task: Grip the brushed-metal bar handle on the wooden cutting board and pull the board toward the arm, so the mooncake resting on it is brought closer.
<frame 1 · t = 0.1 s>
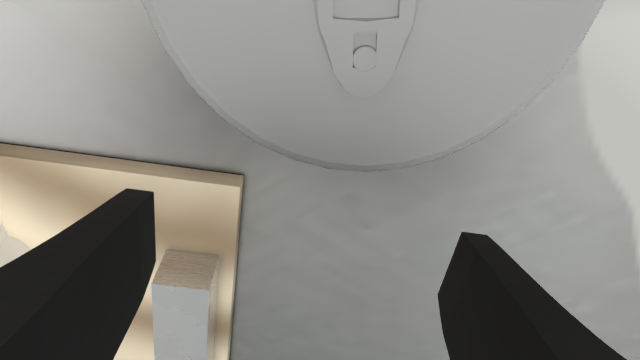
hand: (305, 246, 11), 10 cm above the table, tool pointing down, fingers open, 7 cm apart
wooden cutting board: (6, 300, 24), point 2 cm above the table, slide at 0.2 cm, touching mooncake
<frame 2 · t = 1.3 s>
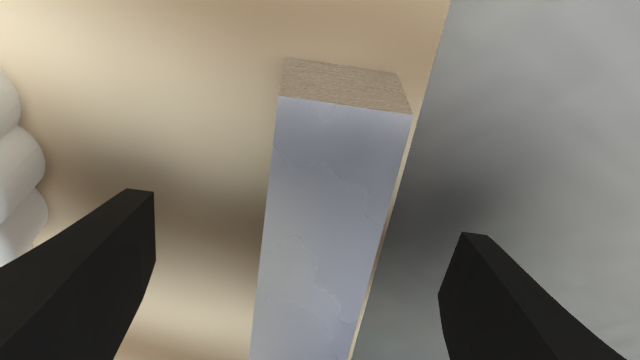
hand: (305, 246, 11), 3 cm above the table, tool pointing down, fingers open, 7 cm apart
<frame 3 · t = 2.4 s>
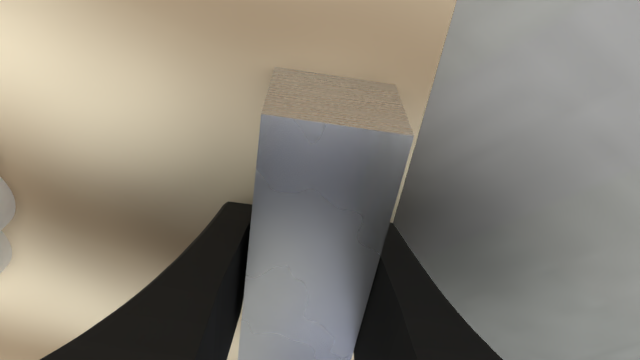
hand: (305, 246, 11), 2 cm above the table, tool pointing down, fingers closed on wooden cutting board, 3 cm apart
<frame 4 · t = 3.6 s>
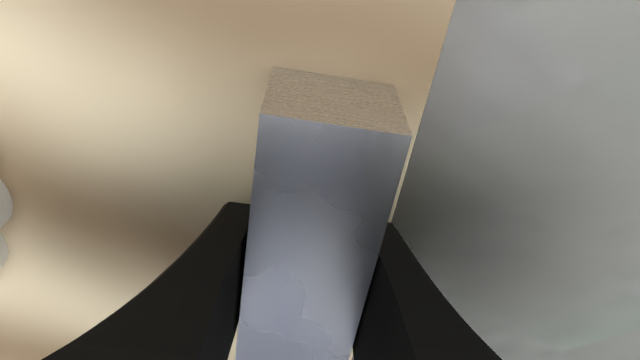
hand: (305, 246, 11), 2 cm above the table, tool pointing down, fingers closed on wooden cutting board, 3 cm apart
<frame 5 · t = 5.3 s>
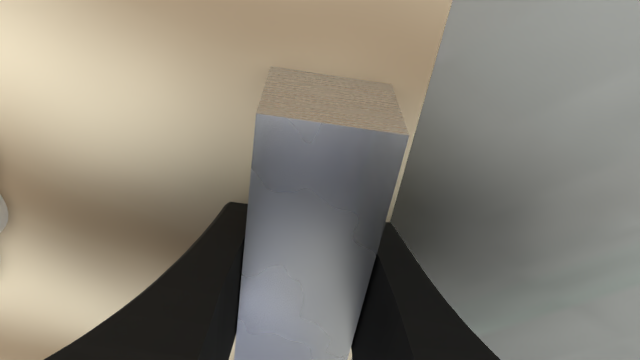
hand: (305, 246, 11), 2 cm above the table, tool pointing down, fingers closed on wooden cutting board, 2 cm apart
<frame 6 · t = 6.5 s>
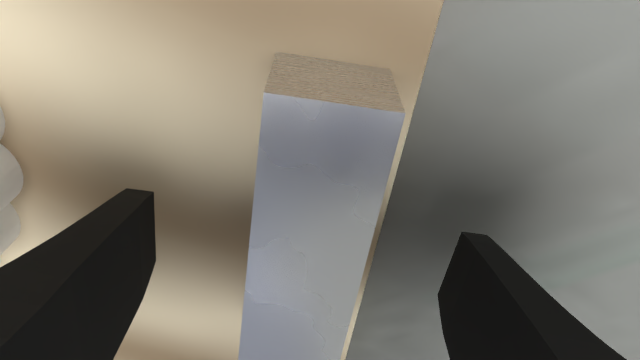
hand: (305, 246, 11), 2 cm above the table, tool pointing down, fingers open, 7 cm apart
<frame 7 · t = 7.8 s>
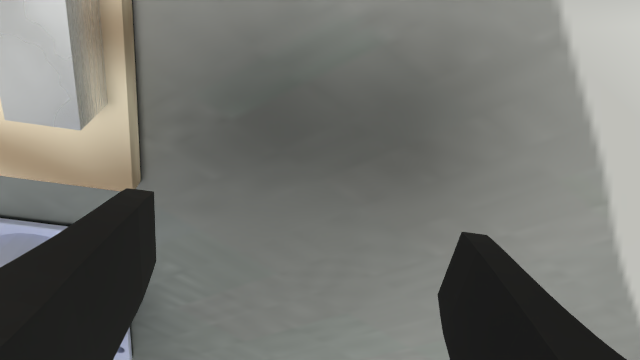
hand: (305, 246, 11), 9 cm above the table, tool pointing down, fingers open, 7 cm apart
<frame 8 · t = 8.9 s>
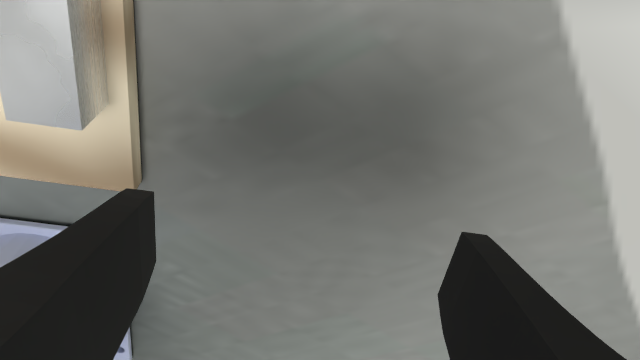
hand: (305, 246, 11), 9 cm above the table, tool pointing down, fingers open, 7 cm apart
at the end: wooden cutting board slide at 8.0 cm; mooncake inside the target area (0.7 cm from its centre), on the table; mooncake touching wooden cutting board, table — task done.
